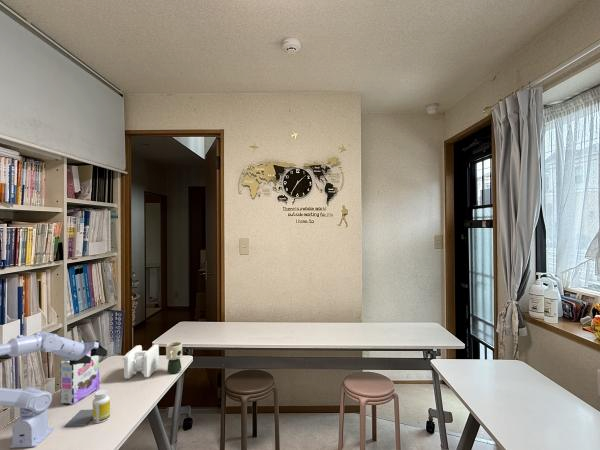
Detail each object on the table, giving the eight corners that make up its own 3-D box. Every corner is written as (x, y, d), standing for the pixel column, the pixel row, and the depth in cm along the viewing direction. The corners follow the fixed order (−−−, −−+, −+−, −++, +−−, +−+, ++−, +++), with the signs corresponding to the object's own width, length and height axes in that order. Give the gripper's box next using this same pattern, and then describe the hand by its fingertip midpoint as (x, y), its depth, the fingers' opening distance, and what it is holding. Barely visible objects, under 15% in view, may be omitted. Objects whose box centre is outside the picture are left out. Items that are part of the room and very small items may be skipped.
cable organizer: (146, 380, 154) (146, 355, 154) (122, 381, 153) (122, 355, 153) (159, 366, 169) (159, 343, 169) (137, 367, 168) (137, 343, 168)
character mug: (178, 376, 158) (177, 348, 157) (162, 377, 157) (162, 348, 157) (185, 366, 168) (185, 340, 168) (170, 366, 168) (170, 340, 168)
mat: (85, 426, 120) (85, 424, 120) (64, 427, 119) (64, 425, 119) (100, 410, 130) (100, 409, 130) (80, 411, 129) (80, 409, 129)
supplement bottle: (113, 414, 127) (112, 388, 127) (105, 423, 121) (104, 395, 121) (98, 415, 127) (97, 388, 127) (89, 423, 121) (89, 396, 121)
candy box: (72, 405, 134) (72, 363, 133) (60, 404, 135) (59, 362, 135) (100, 388, 147) (99, 350, 147) (88, 387, 148) (87, 349, 148)
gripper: (86, 330, 126) (114, 340, 136) (53, 344, 127) (84, 353, 138) (83, 349, 121) (113, 358, 132) (49, 363, 123) (81, 371, 134)
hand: (98, 357), depth 135 cm, fingers open, 7 cm apart
